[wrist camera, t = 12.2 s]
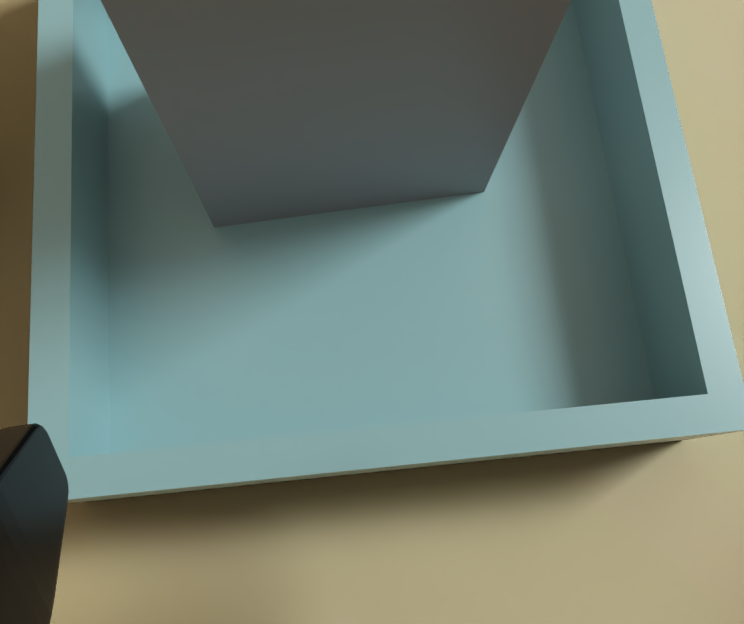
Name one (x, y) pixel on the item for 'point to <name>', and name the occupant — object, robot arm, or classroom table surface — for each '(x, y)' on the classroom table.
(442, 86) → the caddy
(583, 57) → the tray
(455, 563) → the classroom table surface
